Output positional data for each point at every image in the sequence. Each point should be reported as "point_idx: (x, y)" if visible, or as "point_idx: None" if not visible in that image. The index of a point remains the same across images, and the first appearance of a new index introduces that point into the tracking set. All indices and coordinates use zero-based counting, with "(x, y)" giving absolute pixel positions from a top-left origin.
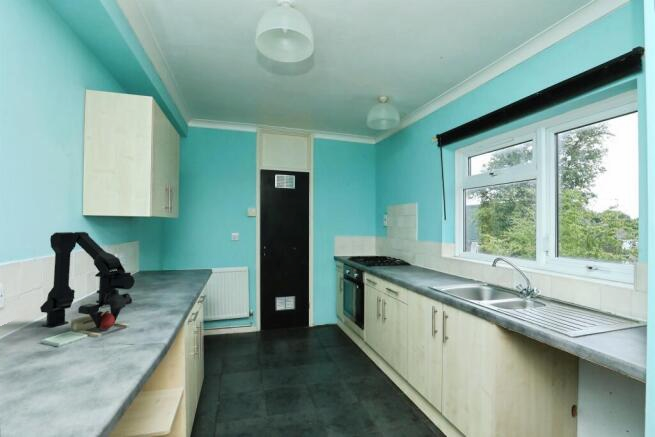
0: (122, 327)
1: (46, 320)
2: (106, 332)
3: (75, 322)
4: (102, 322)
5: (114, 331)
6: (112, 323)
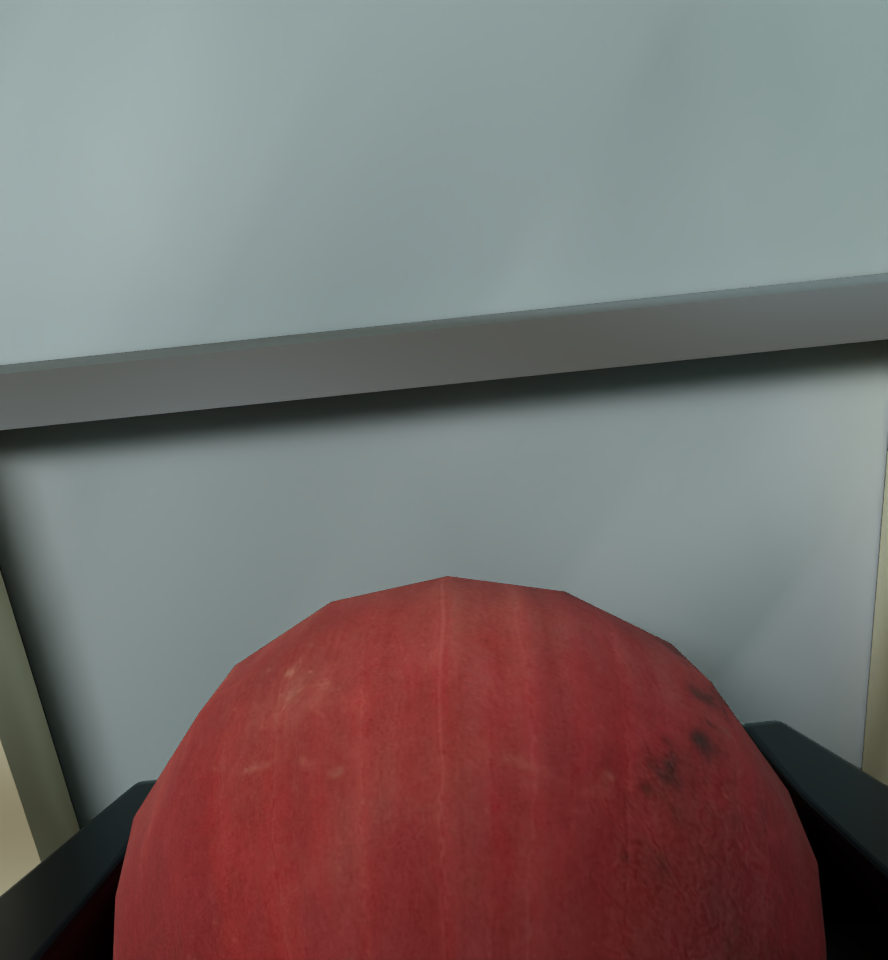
0: (65, 383)
1: None
2: (678, 356)
3: None
4: (779, 798)
5: (401, 324)
6: (360, 608)
